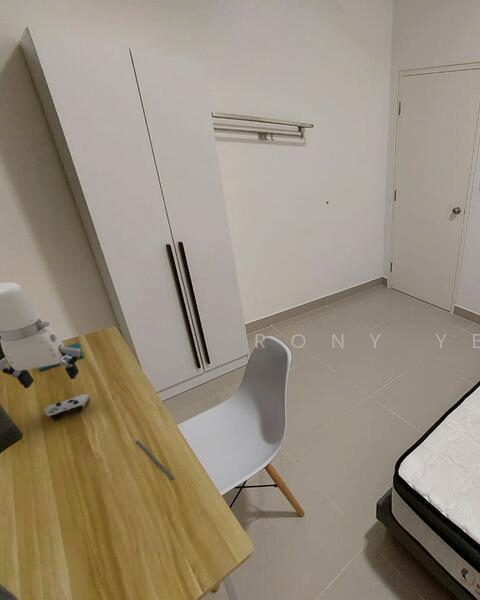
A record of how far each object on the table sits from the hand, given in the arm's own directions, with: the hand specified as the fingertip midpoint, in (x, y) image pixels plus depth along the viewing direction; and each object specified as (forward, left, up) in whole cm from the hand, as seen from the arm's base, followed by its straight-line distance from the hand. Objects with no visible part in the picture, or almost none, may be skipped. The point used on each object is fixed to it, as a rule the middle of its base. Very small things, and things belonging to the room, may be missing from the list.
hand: (52, 380), depth 92 cm
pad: (-12, +32, -12) cm, 36 cm away
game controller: (0, 0, -12) cm, 12 cm away
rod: (+25, -28, -12) cm, 40 cm away
